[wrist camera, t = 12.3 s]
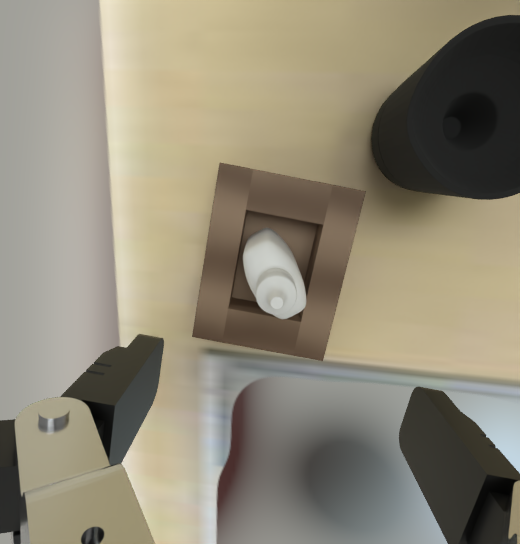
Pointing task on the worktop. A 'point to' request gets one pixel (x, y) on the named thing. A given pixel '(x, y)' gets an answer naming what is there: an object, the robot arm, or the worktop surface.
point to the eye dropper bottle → (273, 274)
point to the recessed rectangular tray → (302, 242)
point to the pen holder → (457, 118)
